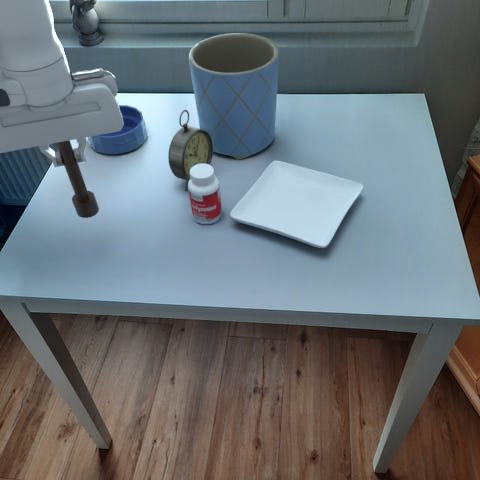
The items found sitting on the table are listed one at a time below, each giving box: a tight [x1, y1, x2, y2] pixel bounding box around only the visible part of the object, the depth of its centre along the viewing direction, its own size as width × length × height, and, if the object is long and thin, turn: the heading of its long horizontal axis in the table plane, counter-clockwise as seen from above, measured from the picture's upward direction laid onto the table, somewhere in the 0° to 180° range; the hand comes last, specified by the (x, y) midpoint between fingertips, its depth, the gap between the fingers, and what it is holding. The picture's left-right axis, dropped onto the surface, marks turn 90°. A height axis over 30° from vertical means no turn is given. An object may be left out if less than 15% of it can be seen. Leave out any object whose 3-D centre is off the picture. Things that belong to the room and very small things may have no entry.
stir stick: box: [55, 140, 100, 219], centre depth 78 cm, size 4×4×18 cm
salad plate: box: [229, 160, 364, 249], centre depth 96 cm, size 21×21×3 cm
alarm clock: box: [167, 109, 214, 192], centre depth 99 cm, size 11×5×16 cm, turn 148°
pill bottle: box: [188, 164, 223, 225], centre depth 94 cm, size 6×6×11 cm
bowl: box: [86, 104, 148, 155], centre depth 115 cm, size 14×14×5 cm
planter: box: [188, 32, 280, 160], centre depth 107 cm, size 19×19×20 cm
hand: (70, 162), depth 78 cm, fingers closed on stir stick, 2 cm apart
